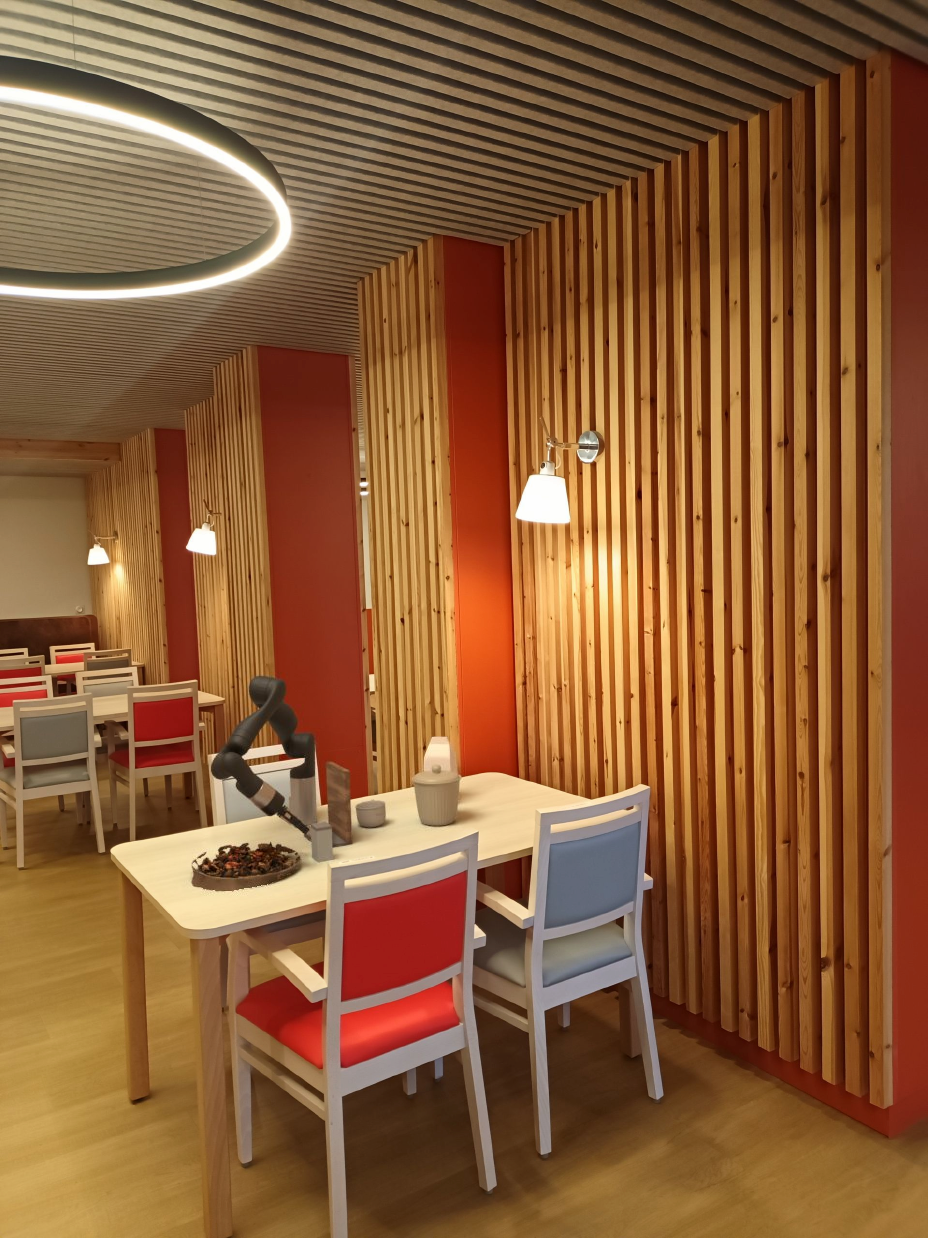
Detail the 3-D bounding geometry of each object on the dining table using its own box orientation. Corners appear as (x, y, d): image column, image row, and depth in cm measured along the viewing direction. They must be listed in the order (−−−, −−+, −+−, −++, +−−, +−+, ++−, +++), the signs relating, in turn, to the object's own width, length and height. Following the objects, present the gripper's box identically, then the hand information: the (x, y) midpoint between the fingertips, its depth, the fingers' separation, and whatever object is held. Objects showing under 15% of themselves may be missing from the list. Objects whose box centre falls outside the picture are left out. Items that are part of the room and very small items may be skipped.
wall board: (320, 849, 301) (318, 775, 300) (304, 836, 317) (301, 765, 316) (352, 844, 306) (349, 770, 305) (334, 831, 322) (331, 761, 321)
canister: (470, 825, 325) (468, 767, 323) (421, 831, 318) (419, 772, 317) (453, 813, 342) (451, 757, 340) (407, 819, 335) (405, 762, 334)
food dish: (245, 852, 305) (245, 829, 304) (323, 868, 288) (322, 843, 288) (162, 881, 274) (162, 856, 274) (243, 901, 258) (243, 873, 257)
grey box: (317, 862, 288) (316, 828, 287) (311, 857, 293) (310, 824, 292) (332, 860, 290) (331, 826, 289) (326, 855, 295) (325, 821, 295)
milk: (423, 805, 354) (420, 739, 353) (430, 798, 365) (428, 734, 364) (453, 806, 351) (450, 740, 350) (459, 799, 362) (457, 734, 361)
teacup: (381, 830, 322) (380, 807, 322) (352, 829, 324) (351, 807, 324) (392, 819, 336) (391, 798, 335) (364, 818, 338) (363, 797, 338)
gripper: (280, 793, 277) (318, 824, 283) (267, 784, 290) (304, 814, 296) (264, 813, 275) (302, 844, 281) (252, 803, 288) (288, 832, 294)
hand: (303, 828), depth 288 cm, fingers open, 8 cm apart
